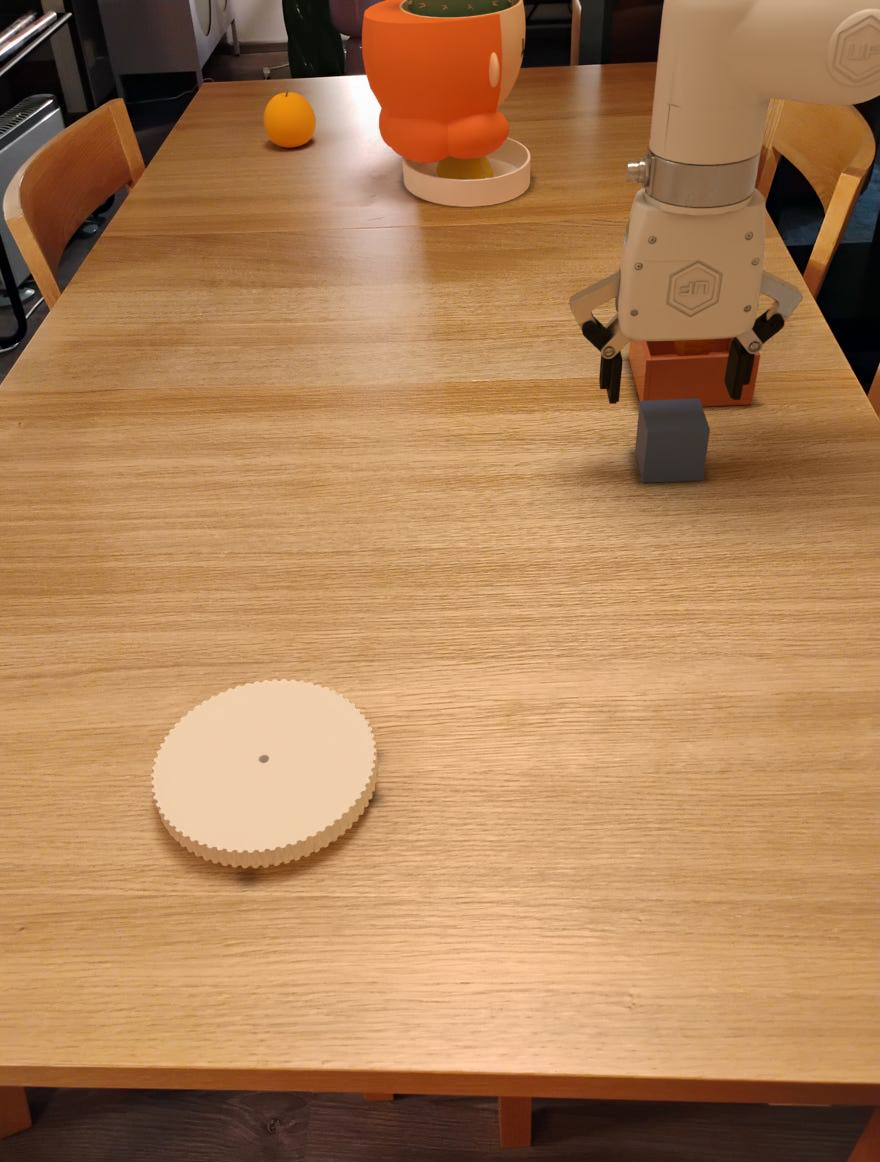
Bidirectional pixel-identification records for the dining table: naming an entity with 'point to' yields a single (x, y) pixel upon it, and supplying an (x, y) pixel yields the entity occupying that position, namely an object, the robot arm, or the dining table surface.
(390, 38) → the potted cactus
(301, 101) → the orange
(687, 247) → the robot arm
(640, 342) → the terracotta bin
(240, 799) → the beige gear wheel
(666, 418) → the block
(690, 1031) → the dining table surface
